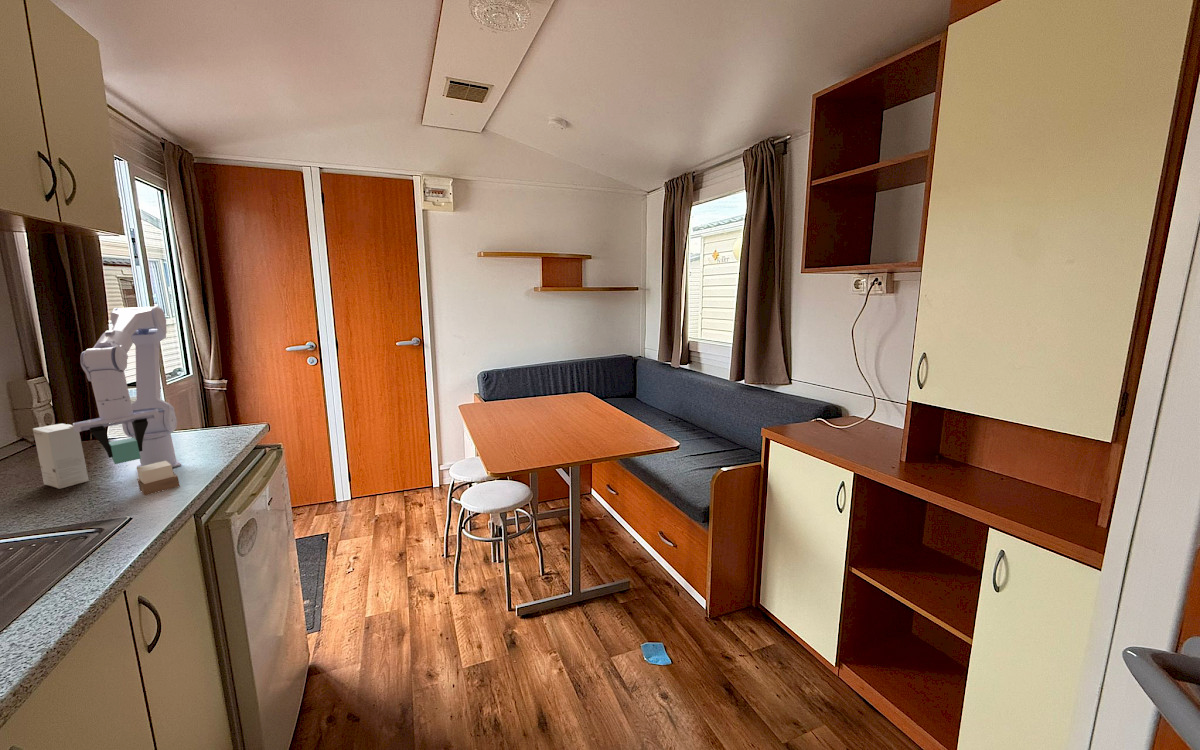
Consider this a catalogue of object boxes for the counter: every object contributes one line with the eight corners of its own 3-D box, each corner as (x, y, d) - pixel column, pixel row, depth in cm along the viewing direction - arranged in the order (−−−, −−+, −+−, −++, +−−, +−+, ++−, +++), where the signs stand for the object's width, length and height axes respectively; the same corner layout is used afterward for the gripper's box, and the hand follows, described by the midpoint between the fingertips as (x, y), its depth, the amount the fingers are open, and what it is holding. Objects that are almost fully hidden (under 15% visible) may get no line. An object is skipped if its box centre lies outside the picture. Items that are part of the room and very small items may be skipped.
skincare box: (43, 485, 125) (28, 428, 122) (75, 476, 130) (62, 422, 128) (60, 489, 122) (45, 431, 119) (92, 480, 127) (78, 424, 124)
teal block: (112, 460, 118) (108, 442, 117) (137, 454, 122) (134, 437, 121) (115, 464, 115) (110, 445, 114) (140, 458, 119) (136, 440, 118)
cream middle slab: (139, 479, 120) (136, 467, 119) (168, 471, 124) (165, 460, 123) (144, 484, 116) (141, 472, 116) (174, 476, 121) (171, 464, 120)
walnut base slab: (139, 490, 120) (137, 478, 120) (174, 481, 125) (171, 470, 125) (144, 497, 116) (142, 485, 116) (180, 487, 121) (177, 476, 121)
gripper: (69, 407, 108) (83, 466, 110) (156, 394, 118) (168, 448, 121) (67, 403, 112) (81, 459, 115) (151, 390, 123) (162, 443, 125)
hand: (125, 453), depth 118 cm, fingers closed on teal block, 4 cm apart
